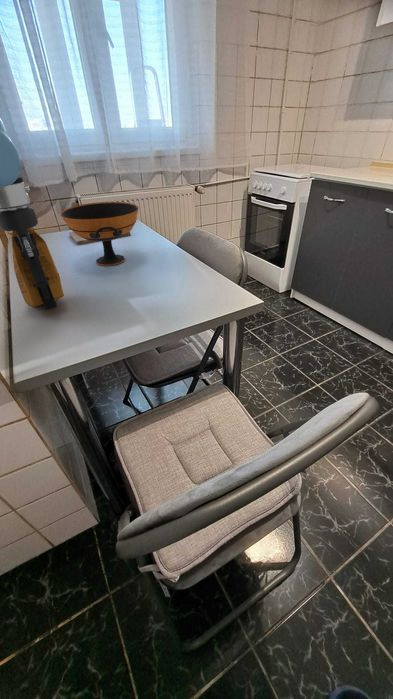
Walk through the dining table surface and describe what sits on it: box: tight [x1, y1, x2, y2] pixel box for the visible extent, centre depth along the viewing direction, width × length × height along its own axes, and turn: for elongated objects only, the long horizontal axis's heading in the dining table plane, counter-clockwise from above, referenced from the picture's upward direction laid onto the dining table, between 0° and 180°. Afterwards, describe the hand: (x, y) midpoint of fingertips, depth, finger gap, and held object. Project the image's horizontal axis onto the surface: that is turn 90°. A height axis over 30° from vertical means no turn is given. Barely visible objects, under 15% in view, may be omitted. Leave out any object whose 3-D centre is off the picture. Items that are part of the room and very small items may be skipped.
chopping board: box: [68, 231, 131, 246], centre depth 136 cm, size 24×16×2 cm, turn 121°
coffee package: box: [11, 227, 65, 307], centre depth 76 cm, size 10×12×22 cm
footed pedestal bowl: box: [59, 201, 140, 267], centre depth 104 cm, size 36×26×18 cm
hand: (51, 307), depth 75 cm, fingers closed
